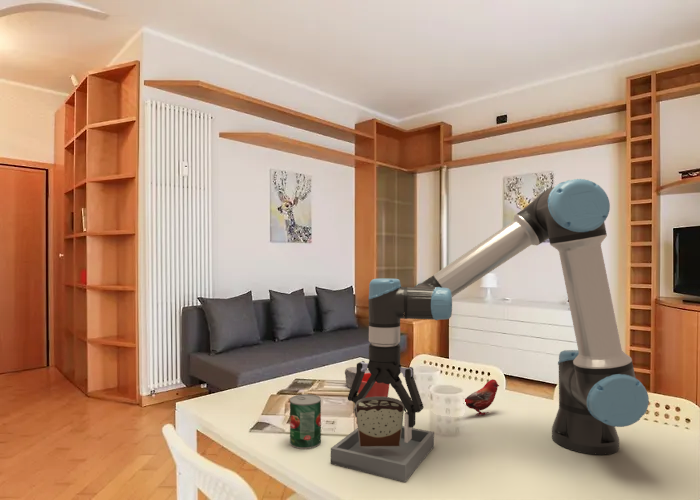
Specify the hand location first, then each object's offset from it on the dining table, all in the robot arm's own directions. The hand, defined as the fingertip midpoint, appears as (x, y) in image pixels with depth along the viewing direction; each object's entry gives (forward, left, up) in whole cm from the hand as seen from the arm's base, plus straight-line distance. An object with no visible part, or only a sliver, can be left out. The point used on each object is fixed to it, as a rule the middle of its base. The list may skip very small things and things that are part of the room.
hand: (384, 435), depth 107 cm
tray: (0, 0, -4) cm, 4 cm away
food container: (+1, 0, -2) cm, 2 cm away
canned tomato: (+20, +3, -5) cm, 21 cm away
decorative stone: (+27, -44, -5) cm, 52 cm away
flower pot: (+16, -28, -5) cm, 33 cm away
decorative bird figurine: (-14, -36, -5) cm, 39 cm away
